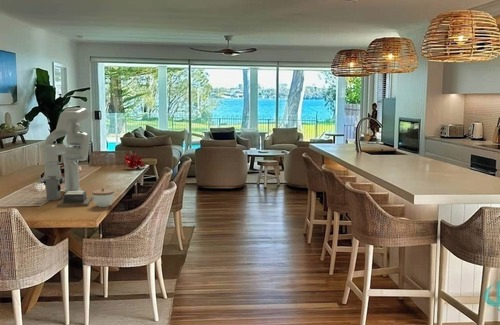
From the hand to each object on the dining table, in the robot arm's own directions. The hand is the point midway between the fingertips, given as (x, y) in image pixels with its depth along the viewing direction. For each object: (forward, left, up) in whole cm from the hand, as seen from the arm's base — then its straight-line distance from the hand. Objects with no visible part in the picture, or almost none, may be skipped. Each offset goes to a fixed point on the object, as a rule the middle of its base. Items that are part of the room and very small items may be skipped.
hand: (53, 190), depth 317 cm
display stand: (+15, +16, -6) cm, 23 cm away
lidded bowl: (+26, +35, -6) cm, 43 cm away
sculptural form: (-132, +43, -6) cm, 139 cm away
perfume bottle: (0, 0, -6) cm, 6 cm away
